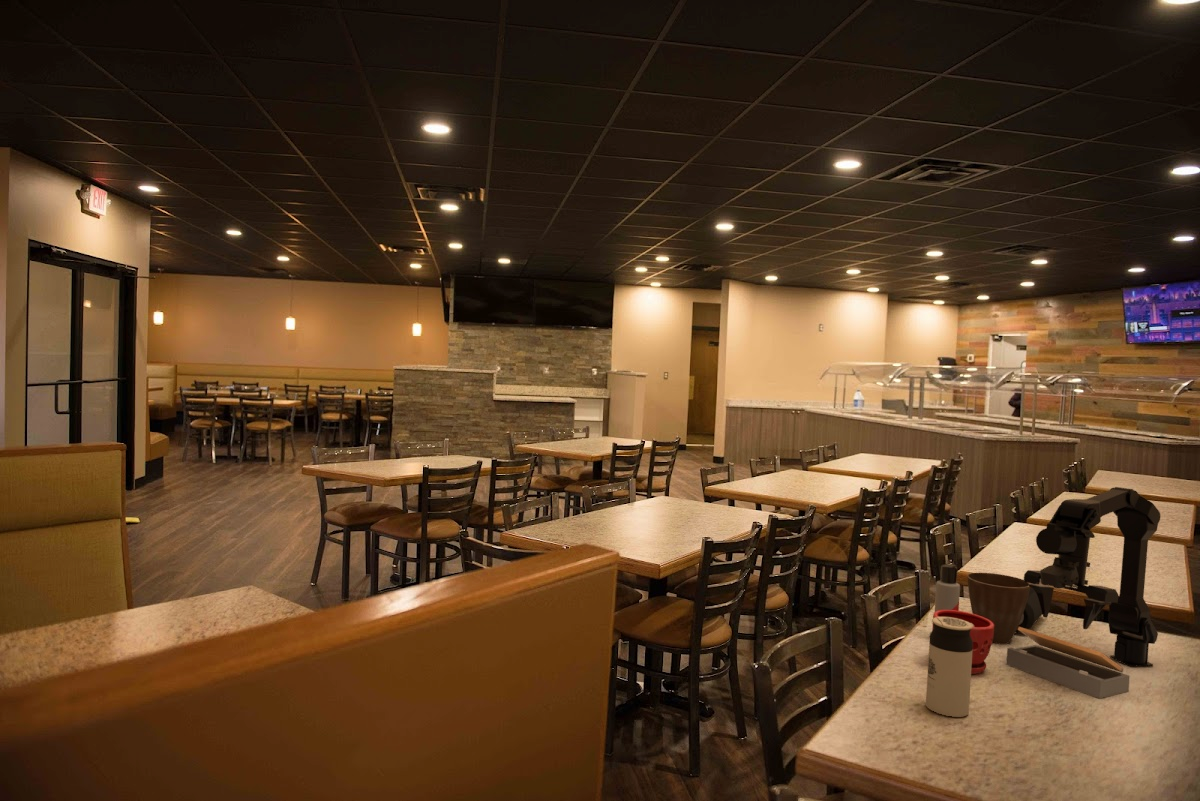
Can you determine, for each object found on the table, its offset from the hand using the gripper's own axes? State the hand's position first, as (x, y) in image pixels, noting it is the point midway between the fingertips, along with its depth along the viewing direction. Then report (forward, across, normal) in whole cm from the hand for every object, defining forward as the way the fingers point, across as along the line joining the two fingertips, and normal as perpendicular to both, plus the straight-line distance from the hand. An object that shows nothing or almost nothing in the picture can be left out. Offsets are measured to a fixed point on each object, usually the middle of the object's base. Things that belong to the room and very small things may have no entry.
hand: (1064, 623), depth 179 cm
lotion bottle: (+13, -29, -2) cm, 32 cm away
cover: (+6, 0, +3) cm, 7 cm away
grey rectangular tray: (+13, 0, +3) cm, 13 cm away
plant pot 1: (+15, -14, -16) cm, 26 cm away
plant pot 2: (+12, -24, +13) cm, 30 cm away
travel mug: (+17, +2, -40) cm, 44 cm away
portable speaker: (+10, -31, +33) cm, 46 cm away
